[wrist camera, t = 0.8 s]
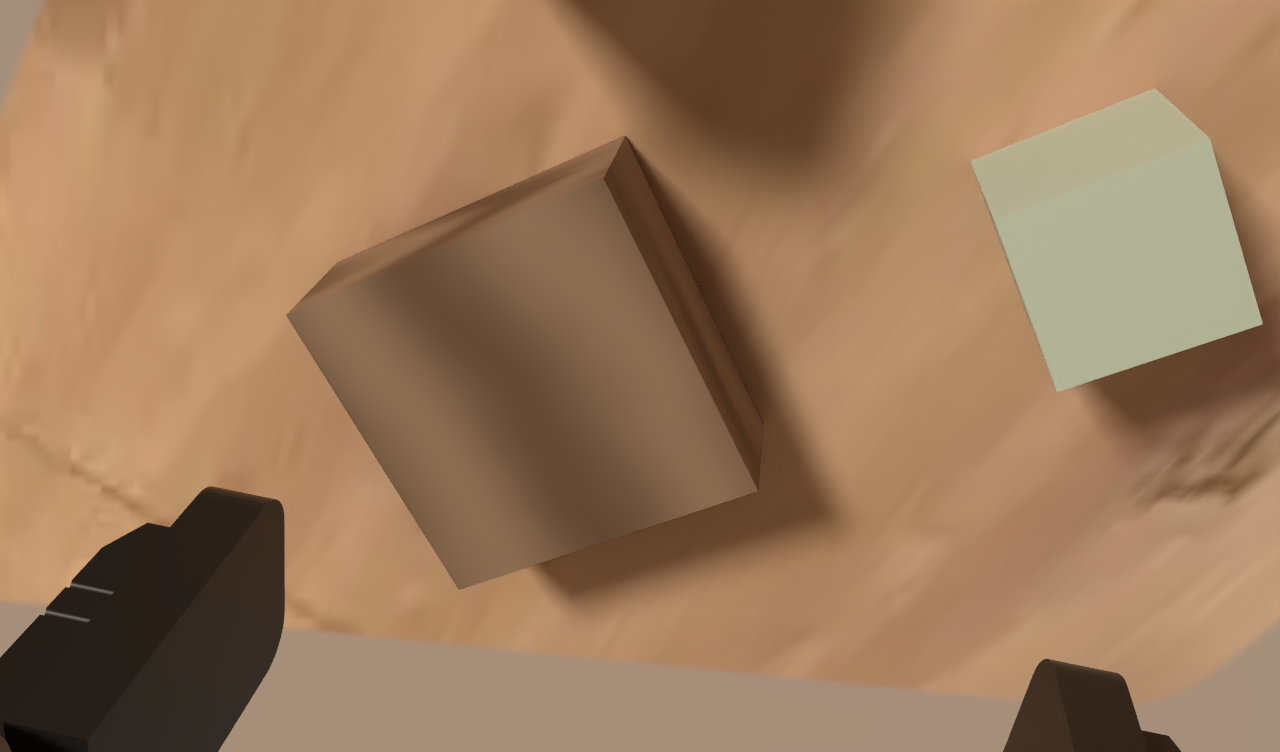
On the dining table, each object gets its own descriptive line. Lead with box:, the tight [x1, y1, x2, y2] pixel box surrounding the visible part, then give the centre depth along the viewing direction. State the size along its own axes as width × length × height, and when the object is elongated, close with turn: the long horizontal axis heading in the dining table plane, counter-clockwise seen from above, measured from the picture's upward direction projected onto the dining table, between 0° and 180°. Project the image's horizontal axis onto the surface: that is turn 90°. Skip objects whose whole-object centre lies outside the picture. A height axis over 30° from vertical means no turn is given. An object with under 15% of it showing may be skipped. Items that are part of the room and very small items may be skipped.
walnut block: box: [286, 136, 763, 590], centre depth 36 cm, size 10×10×4 cm
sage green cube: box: [970, 88, 1263, 392], centre depth 31 cm, size 5×5×5 cm
